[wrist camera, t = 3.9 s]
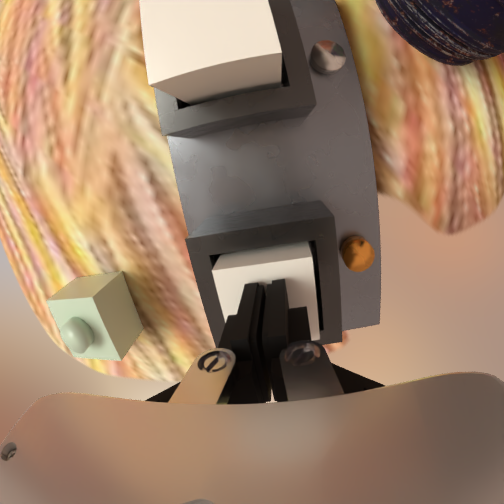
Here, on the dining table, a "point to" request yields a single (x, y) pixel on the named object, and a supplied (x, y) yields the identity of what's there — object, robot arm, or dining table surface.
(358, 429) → the robot arm
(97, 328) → the cap
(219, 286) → the tagged breaker button
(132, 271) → the dining table surface
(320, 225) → the breaker board
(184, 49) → the breaker button
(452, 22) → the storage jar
